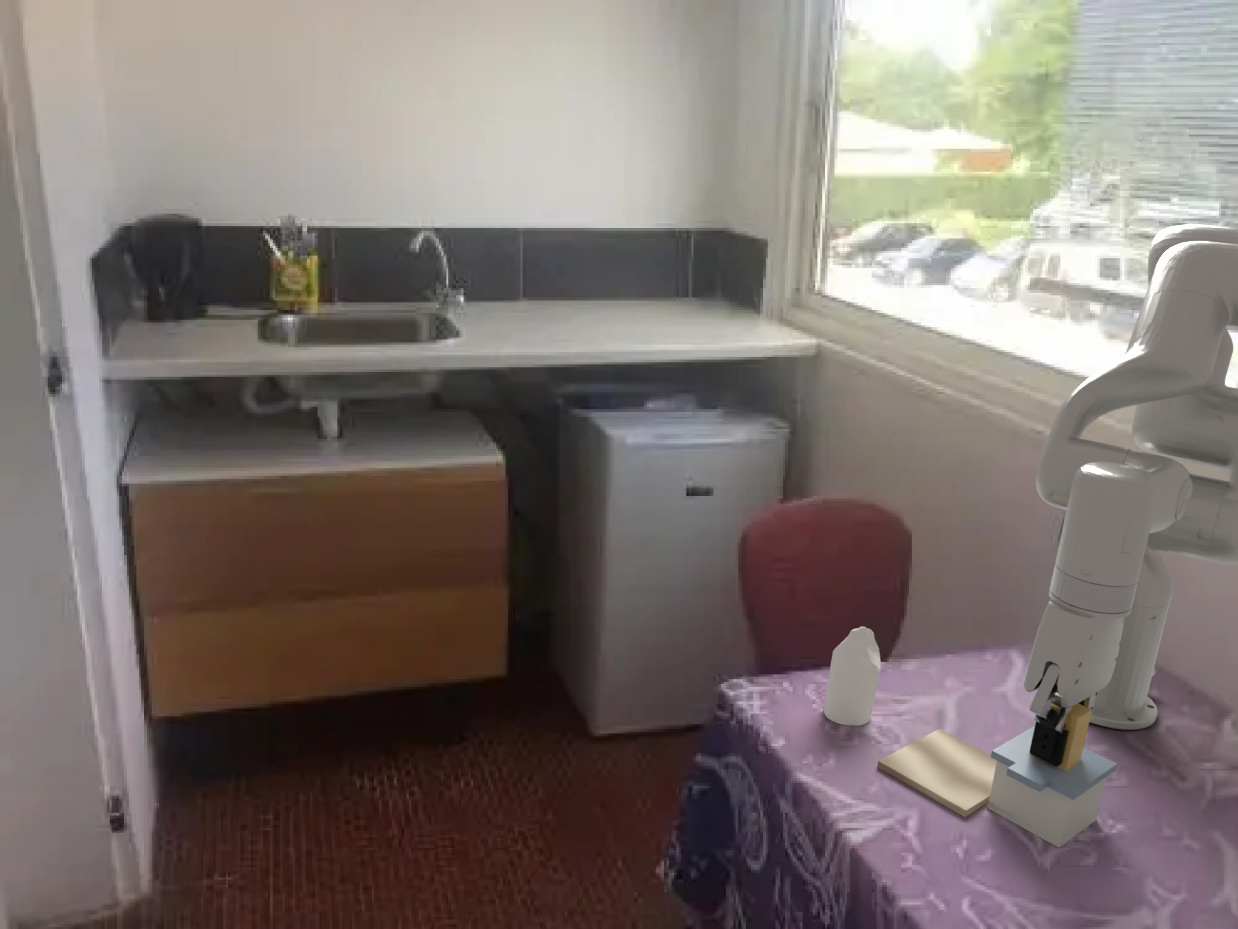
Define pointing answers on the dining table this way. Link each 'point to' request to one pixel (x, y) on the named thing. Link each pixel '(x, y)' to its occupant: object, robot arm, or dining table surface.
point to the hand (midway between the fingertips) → (1055, 751)
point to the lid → (1077, 763)
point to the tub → (1044, 807)
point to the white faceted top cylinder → (853, 679)
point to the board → (944, 771)
